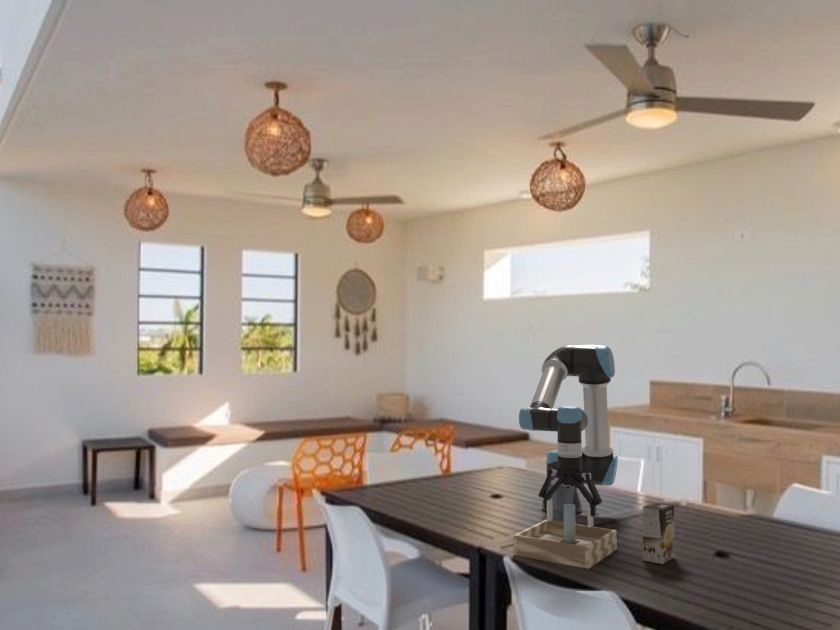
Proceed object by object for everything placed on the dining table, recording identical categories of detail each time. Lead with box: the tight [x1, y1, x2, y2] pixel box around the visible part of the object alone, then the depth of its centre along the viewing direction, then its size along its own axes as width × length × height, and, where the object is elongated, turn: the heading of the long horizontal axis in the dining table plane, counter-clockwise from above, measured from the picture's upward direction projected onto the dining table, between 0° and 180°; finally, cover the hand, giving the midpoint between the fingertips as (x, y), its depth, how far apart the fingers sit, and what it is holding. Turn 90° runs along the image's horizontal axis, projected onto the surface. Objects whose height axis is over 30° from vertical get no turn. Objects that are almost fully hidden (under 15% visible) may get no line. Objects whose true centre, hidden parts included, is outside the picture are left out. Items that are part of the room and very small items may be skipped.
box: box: [512, 519, 618, 570], centre depth 235 cm, size 24×24×6 cm
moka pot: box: [549, 476, 575, 522], centre depth 259 cm, size 10×15×20 cm, turn 15°
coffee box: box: [642, 502, 675, 565], centre depth 228 cm, size 9×6×16 cm
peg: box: [564, 504, 576, 544], centre depth 237 cm, size 4×4×14 cm
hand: (569, 523), depth 238 cm, fingers open, 13 cm apart
